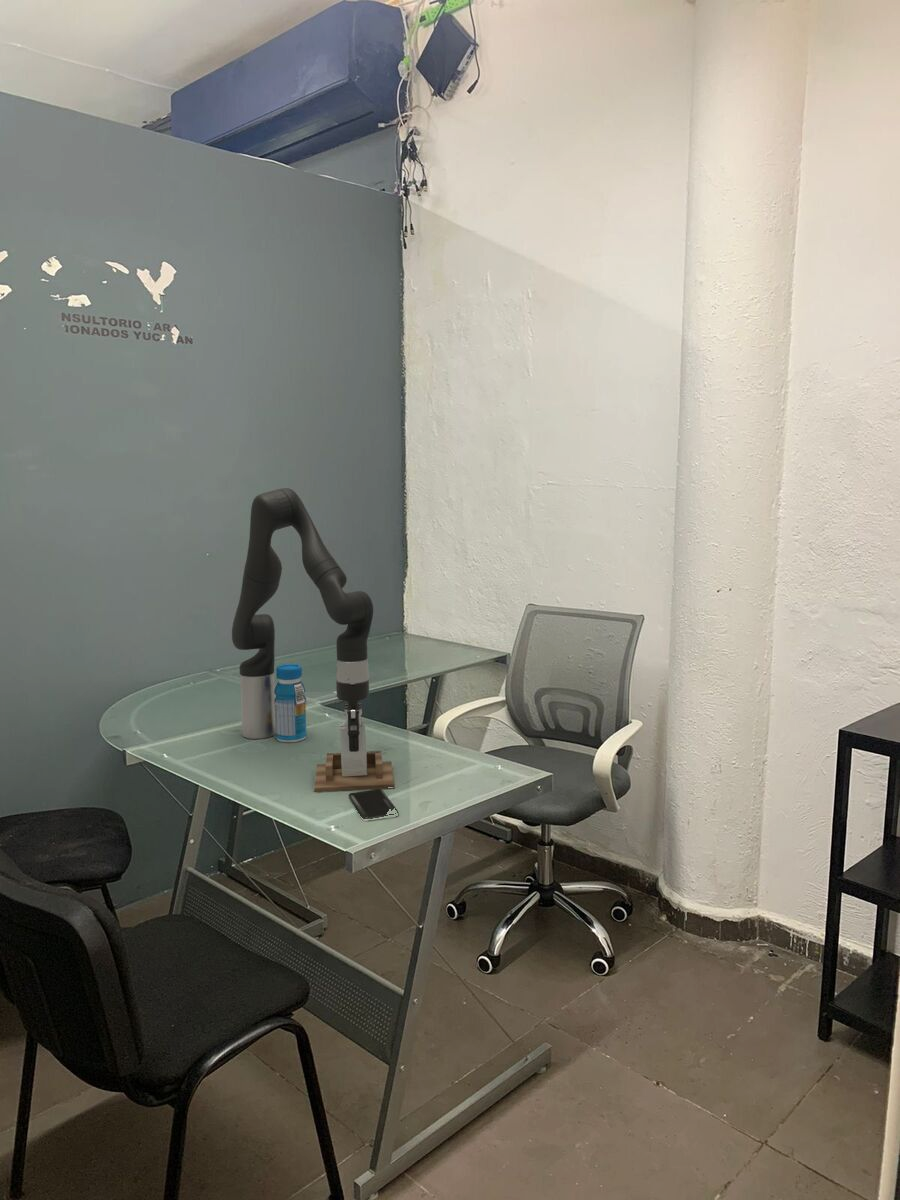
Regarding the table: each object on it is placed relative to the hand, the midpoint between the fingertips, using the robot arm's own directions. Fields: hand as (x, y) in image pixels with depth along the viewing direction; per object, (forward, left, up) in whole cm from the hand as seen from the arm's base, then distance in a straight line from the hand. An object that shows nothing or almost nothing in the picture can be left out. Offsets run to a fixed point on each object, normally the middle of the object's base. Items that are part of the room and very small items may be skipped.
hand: (354, 745), depth 202 cm
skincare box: (0, 0, -7) cm, 7 cm away
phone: (+18, +4, -9) cm, 21 cm away
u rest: (0, 0, -8) cm, 8 cm away
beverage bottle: (-33, -17, -8) cm, 38 cm away
